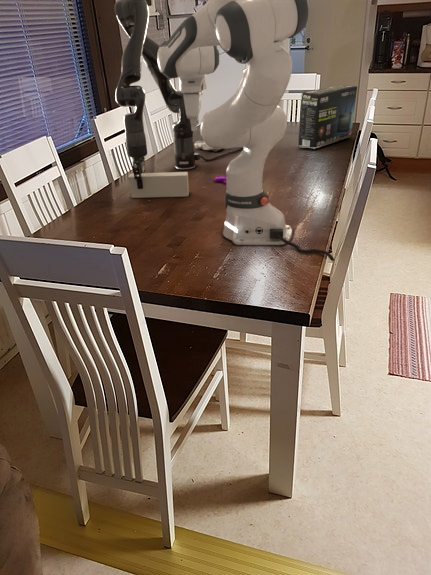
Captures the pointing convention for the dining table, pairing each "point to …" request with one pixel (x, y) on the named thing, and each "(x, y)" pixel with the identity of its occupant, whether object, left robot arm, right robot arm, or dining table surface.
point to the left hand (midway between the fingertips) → (141, 186)
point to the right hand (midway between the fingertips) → (195, 127)
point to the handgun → (220, 179)
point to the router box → (326, 115)
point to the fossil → (205, 146)
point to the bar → (160, 185)
